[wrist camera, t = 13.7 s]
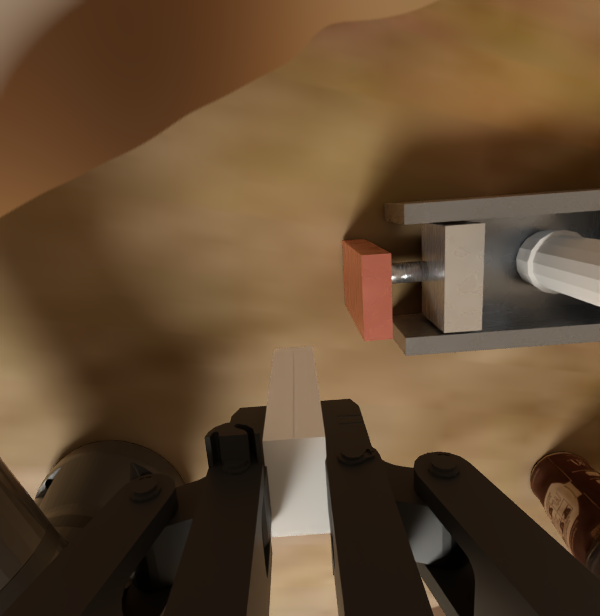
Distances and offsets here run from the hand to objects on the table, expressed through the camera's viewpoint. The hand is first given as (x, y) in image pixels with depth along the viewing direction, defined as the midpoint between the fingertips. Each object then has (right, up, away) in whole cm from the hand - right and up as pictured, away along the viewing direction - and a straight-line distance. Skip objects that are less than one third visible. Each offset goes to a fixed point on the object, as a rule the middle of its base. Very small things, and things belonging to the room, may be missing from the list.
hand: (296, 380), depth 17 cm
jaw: (+9, +6, +23) cm, 26 cm away
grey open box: (+18, +7, +24) cm, 31 cm away
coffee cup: (+28, -15, +30) cm, 43 cm away
